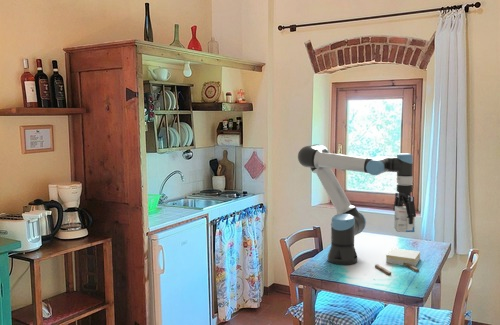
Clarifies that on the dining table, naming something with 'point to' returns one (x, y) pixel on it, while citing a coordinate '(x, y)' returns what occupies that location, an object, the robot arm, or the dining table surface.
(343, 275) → the dining table surface
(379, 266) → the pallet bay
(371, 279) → the dining table surface
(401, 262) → the block
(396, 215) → the ink box
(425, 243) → the dining table surface
